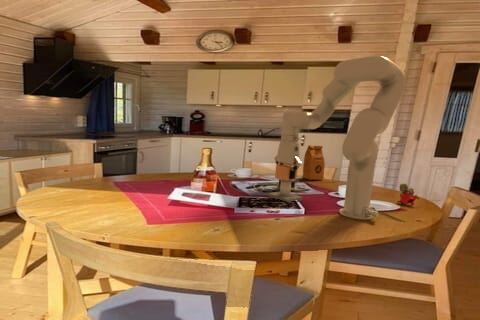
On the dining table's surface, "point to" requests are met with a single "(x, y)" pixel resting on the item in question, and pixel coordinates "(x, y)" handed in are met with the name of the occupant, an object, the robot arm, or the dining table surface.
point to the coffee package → (313, 163)
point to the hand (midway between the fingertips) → (285, 177)
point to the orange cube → (284, 172)
